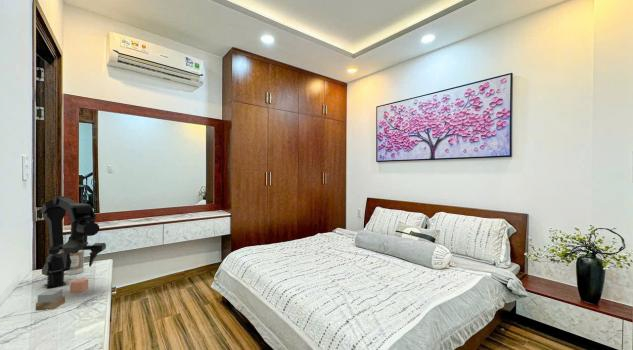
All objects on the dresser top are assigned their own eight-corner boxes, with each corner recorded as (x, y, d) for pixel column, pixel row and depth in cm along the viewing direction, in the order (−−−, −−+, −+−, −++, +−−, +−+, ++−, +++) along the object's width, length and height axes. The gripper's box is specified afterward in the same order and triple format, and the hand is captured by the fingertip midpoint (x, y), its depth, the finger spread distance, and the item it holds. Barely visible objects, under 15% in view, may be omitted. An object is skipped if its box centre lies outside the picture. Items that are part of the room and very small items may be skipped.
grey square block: (37, 303, 102) (37, 295, 102) (48, 297, 107) (48, 290, 107) (52, 302, 103) (52, 294, 103) (62, 296, 108) (62, 289, 108)
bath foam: (64, 276, 137) (65, 237, 137) (67, 271, 142) (69, 235, 143) (81, 273, 140) (83, 236, 141) (84, 269, 146) (85, 234, 147)
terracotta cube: (69, 293, 118) (70, 283, 118) (77, 288, 122) (77, 279, 122) (81, 292, 118) (81, 282, 119) (88, 288, 123) (88, 278, 123)
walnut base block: (35, 311, 102) (35, 303, 102) (48, 303, 108) (48, 296, 108) (53, 310, 103) (53, 302, 103) (65, 303, 109) (65, 295, 109)
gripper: (40, 237, 106) (38, 275, 106) (97, 236, 113) (95, 272, 113) (56, 231, 116) (54, 266, 116) (107, 230, 123) (105, 263, 123)
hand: (77, 267), depth 117 cm, fingers open, 9 cm apart
